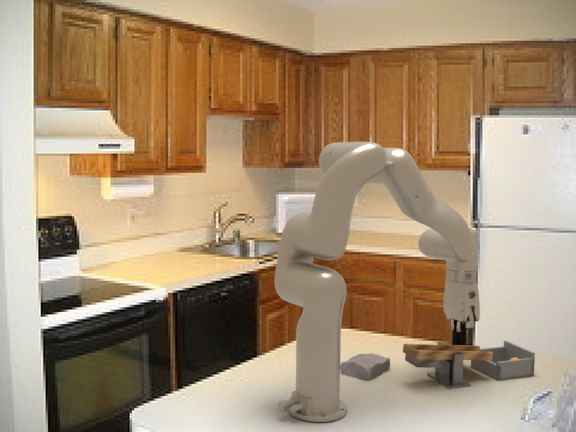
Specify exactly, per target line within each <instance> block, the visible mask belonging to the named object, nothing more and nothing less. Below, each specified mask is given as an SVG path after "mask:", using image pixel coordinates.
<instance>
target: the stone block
mask: <svg viewBox="0 0 576 432" xmlns="http://www.w3.org/2000/svg"><path fill="white" fill-rule="evenodd" d="M390 367H391V359H390V357H385V356H382V355H380V354H378V353H377V354H376V353H372V352H370V353H360V354H356V355H354V356H352V357H350V358H348V360H346V361H342V362H340V373H341V375H344V376H347V377H351V378H356V379H360V380H365V381H371V380H373V379H375V378H377V377H379V376H381V375H382V374H383V372H384V373H385V371H386V372H387V371H388V370H389V369H390ZM378 375H379V376H378Z"/></svg>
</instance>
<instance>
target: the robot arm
mask: <svg viewBox="0 0 576 432" xmlns="http://www.w3.org/2000/svg"><path fill="white" fill-rule="evenodd" d="M318 166H319V169H320V170H321V173H322V174H323V176H322V177H321V178H320V180H319V183H318V185H317V187H316V190H315V195H314V199H313V203H312V208H311V211H310V212H300V213H296V214H294V215H293V216H291V217H290V218H289V219H288V220H287V222H286V223H285V225H284V226H283V229H282V232H281V236H280V241H279V247H278V254H277V259H276V265H275V272H274V273H275V274H274V289H275V291H276V293H277V295H278V297H280V299H282V300H283V301H285V302H287V303H290V304H293V305H296V306H299V307H301V308H302V309H303V310H302V313H301V315H300V317H299V319H298V322H297V326H296V329H295V330H296V331H295V332H296V335H295V339H296V340H295V343H296V345H295V349H296V350H295V352H296V353H295V390H293V391H292V392H291V397H289V399H284V400H282V401H281V400H280V401H279V402H277V408H278V410H279V411H280V412H283V411H287V410H288V412H289V413H290V415H291V416H293V417H295V418H296V419H298V420H302V421H306V422H311V423H327V422H333V421H337V420H340V419H342V418H344V417H345V416H346V415H347V412H348V411H347V410H348V405H347V404H346V403H345V402H344V401H343V400H341V397H340V395H341V393H340V392H341V369H340V365H341V345H342V344H341V339H342V337H341V336H342V319H343V313H344V312H343V311H344V306H345V303H346V297H347V285H346V284H347V283H346V281H345V279H344V277H343V276H342V275H341V274H340V273H339V272H338V271H336V270H334V269H333V268H330V267H327V266H324V265H319V264H315V263H314V259H319V260H324V261H335V260H338V259H340V258H341V257H342V256H343V255H344V253H345V251H346V249H347V245H348V240H349V234H350V229H351V228H350V227H351V223H352V215H353V211H354V205H355V201H356V199H357V196H358V194H359V193H360V191H361V189H362V188H364V186H365V185H367V184H381V185H382V184H383V185H384V186H385V187H386V188H387V190H388V191H389V193H390V195H391V196H392V198H393V200H394V202H395V203H396V205H397V206H398V208H399V209H400V211H401V212H402V214H403V215H404V216H406V217H408V218H409V219H411V220H413V221H415V222H417V223H418V224H421V225H423V226H427V227H429V228H430V229H427V230H425V231H424V232H422V233H421V235H420V237H419V238H418V242H417V243H418V244H417V245H418V249H419V251H420V252H421V253H422V255H424V256H425V257H428V258H430V259H435V260H441V261H446V262H445V263H446V264H445V265H446V268H445V271H446V272H445V274H446V275H445V284H444V292H443V306H442V307H443V313H444V314H445V317H446V319H447V320H448V321H449V322H450V327H451V328H450V329H451V330H452V335H451V336H452V338H451V342H452V345H467V332H469V329H473V328H475V322H479V321H480V319H481V318H480V315H481V312H480V311H481V307H480V306H481V305H480V304H481V303H480V292H479V286H478V283H477V273H478V271H477V269H478V268H477V267H478V265H477V263H478V240H479V239H478V235H479V234H478V232H477V230H476V229H474V228H471V227H469V225H468V223H467V222H466V220H465V219H464V217H463V216H462V215H461V214H459V212H458V211H457V210H455V209H454V208H453V207H452V206H450V205H449V204H448V203H446V202H445V201H444V200H443V199H441V198H440V197H438V196H437V195H436V194H435V193H434V192H433V191H432V190H431V187H430V186H429V184H428V182H427V181H426V179H425V177H424V176H423V174H422V172H421V170H420V168H419V166H418V165H417V164H416V161H415V159H414V158H413V156H412V155H411V153H410V152H408V151H407V150H406V149H403V148H400V147H383V146H382V145H381V144H379V143H377V142H373V141H347V142H346V141H345V142H339V141H338V142H333V143H328V144H327V145H326V146H325V147H323V149H322V150H321V152H320V154H319V156H318Z"/></svg>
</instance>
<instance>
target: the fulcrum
mask: <svg viewBox="0 0 576 432" xmlns="http://www.w3.org/2000/svg"><path fill="white" fill-rule="evenodd" d="M442 345H444V344H442ZM426 375H427V376H428V377H430V378H431V379H433V380H434V381H436V382H438V383H439V384H441V385H443V386H444V387H446V388H447V389H449V390H451V389H458V388H466V387H467V388H468V387H471V386H472V383H471V382H469V381H467V380H466V379H464V378H463V375H464V360H463V354H462V353H458V354H453V360H440V361H439V368H434V371H430V372H429V371H428V372H426Z"/></svg>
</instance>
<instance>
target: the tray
mask: <svg viewBox="0 0 576 432" xmlns="http://www.w3.org/2000/svg"><path fill="white" fill-rule="evenodd" d="M480 351H481V352H493V357H492V361H487V360H470V367H471V368H472V369H475V370H477V372H480V373H482V374H484V375H486V376H488V377H490V378H492V379H494V380H495V381H498V382H499V381H504V380H513V379H520V378H521V379H522V378H528V377H534V376H535V359H536V353H535V352H534V351H532V350H529V349H527V348H525V347H522V346H519V345H517V344H515V343H513V342H510V341H509V340H503V346H495V347H493V346H492V347H486V348H480ZM512 358H518V359H517V360H510V359H512Z"/></svg>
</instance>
